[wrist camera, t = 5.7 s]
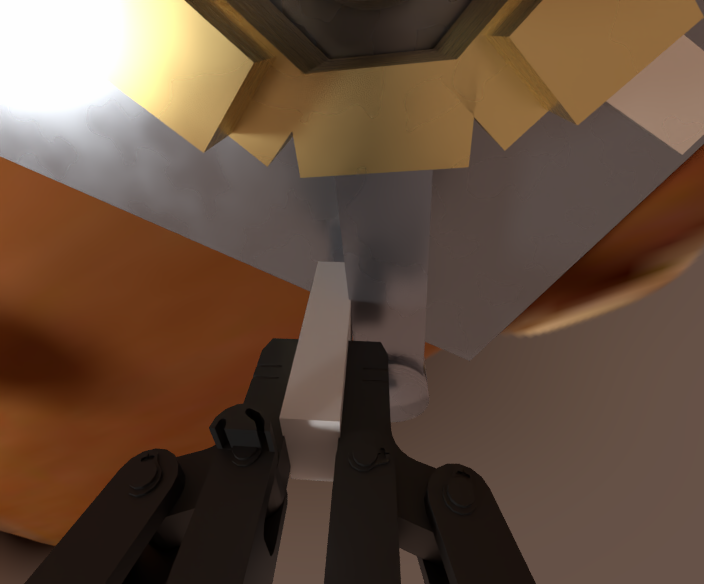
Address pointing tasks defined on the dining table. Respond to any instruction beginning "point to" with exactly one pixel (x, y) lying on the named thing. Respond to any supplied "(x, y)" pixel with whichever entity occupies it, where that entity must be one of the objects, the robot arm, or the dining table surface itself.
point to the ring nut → (382, 116)
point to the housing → (320, 192)
